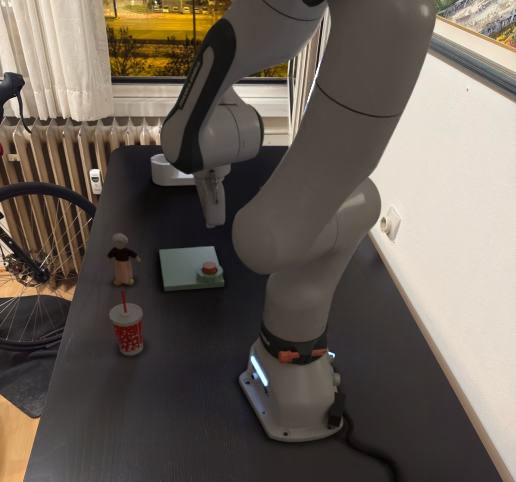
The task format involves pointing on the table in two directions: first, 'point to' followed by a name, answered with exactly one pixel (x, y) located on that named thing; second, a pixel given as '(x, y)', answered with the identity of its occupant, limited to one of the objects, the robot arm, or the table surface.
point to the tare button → (209, 268)
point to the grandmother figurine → (122, 260)
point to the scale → (189, 268)
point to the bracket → (168, 173)
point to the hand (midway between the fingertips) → (209, 223)
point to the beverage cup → (128, 327)
